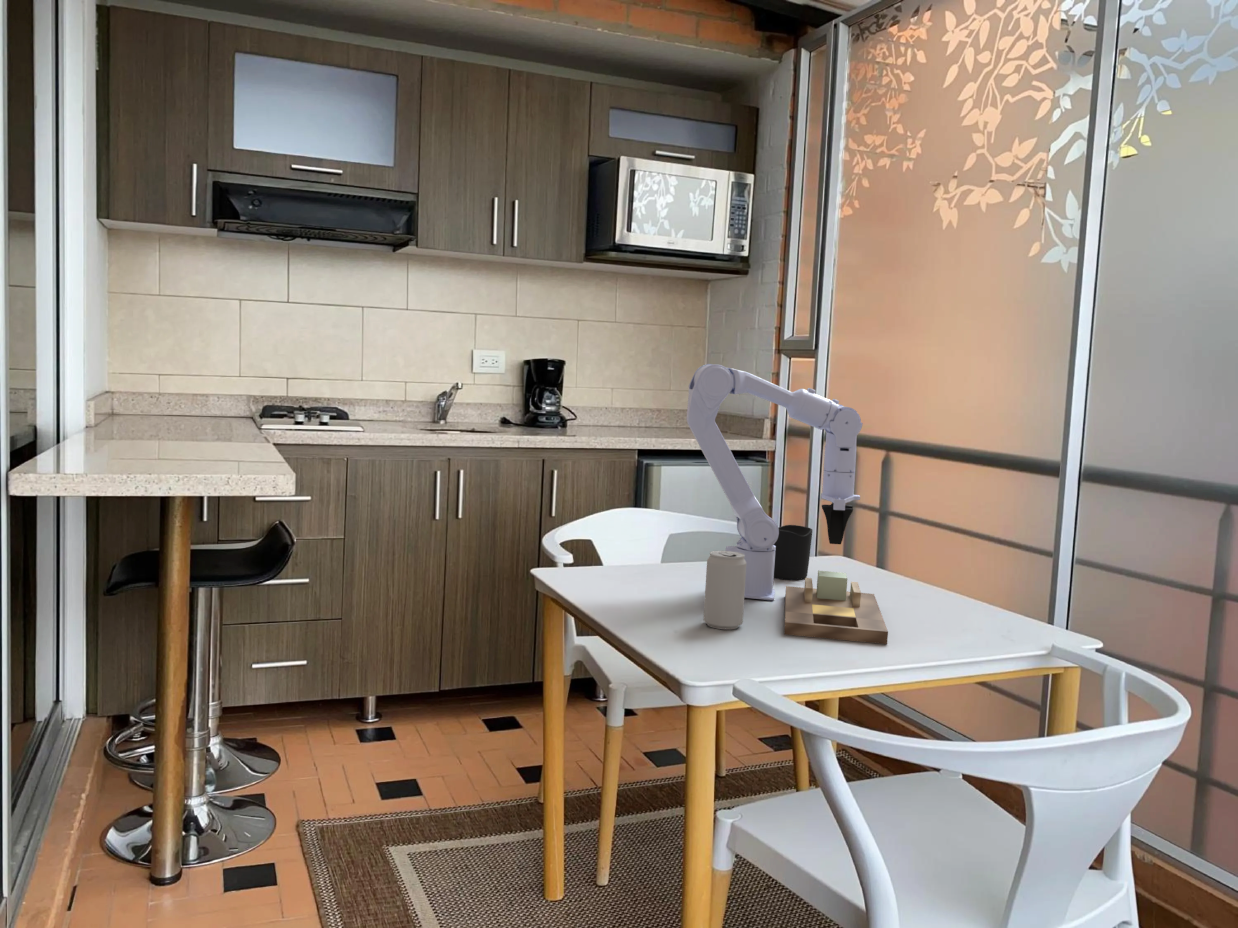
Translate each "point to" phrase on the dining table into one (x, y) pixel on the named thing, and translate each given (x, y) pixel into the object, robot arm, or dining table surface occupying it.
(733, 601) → the beverage can
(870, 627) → the deck
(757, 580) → the robot arm
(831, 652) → the dining table surface
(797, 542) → the pen holder
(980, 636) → the dining table surface
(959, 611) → the dining table surface
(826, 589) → the block
